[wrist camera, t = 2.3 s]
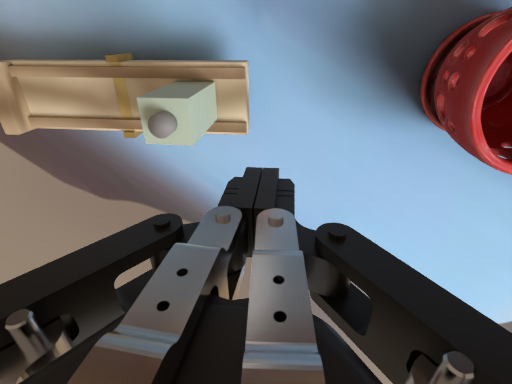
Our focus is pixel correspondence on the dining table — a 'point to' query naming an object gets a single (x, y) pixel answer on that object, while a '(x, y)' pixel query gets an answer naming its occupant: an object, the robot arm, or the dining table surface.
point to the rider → (178, 112)
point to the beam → (112, 92)
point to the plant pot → (474, 88)
